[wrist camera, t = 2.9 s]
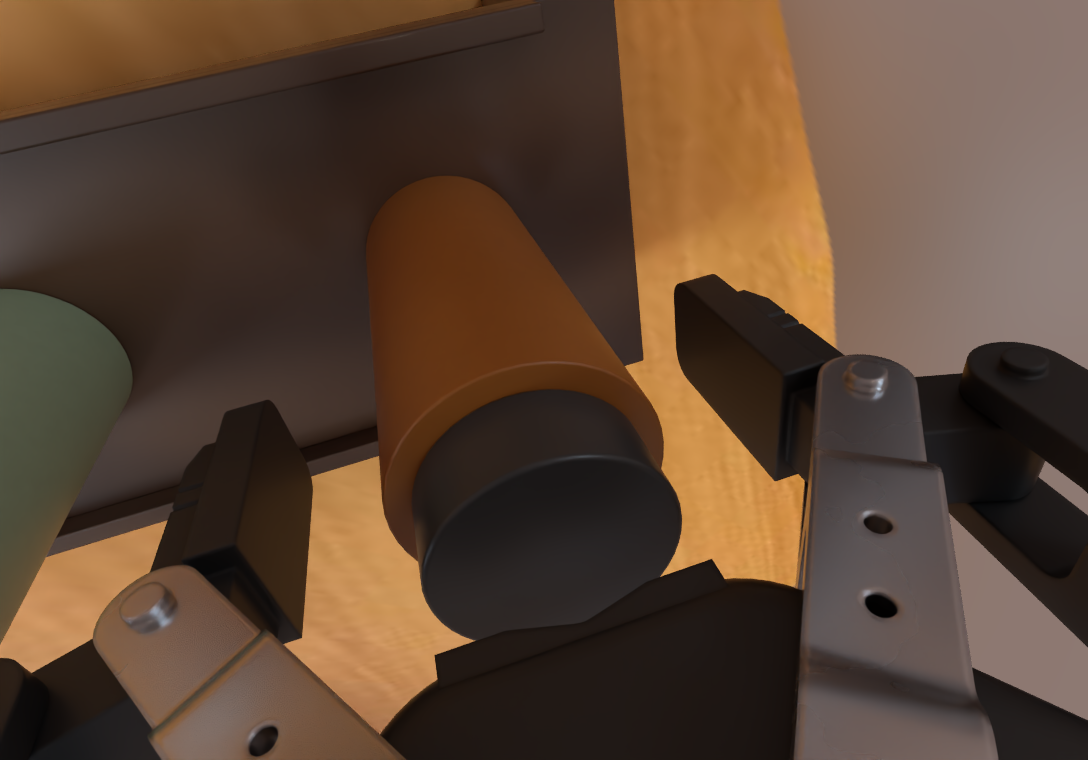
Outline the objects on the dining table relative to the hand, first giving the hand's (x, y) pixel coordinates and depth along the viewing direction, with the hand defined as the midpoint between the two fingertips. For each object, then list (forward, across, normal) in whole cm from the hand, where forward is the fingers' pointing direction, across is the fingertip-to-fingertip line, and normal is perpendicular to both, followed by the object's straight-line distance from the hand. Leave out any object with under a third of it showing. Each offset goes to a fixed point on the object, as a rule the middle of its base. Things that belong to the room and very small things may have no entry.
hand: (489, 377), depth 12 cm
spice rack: (+13, +6, 0) cm, 14 cm away
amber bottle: (+6, 0, 0) cm, 6 cm away
